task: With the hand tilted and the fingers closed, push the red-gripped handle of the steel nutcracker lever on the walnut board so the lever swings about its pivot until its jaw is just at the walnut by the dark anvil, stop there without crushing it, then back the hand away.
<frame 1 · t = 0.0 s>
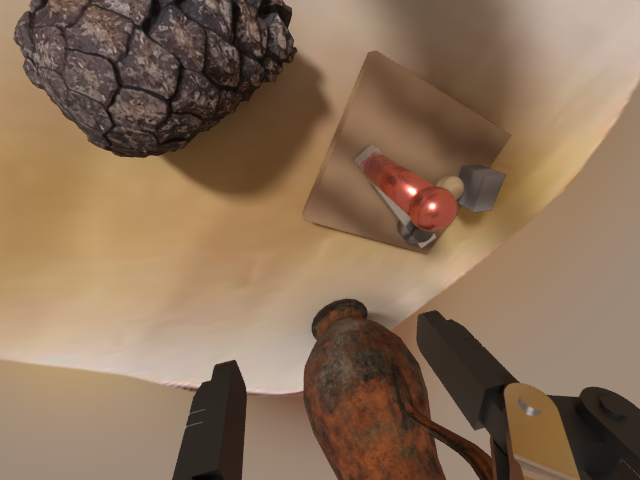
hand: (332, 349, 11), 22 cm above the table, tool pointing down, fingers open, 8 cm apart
pine cone: (188, 57, 22), on the table
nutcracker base: (403, 214, 36), on the table
lever: (426, 226, 26), point 9 cm above the table, hinge at 0.0°
pitcher: (343, 311, 44), on the table
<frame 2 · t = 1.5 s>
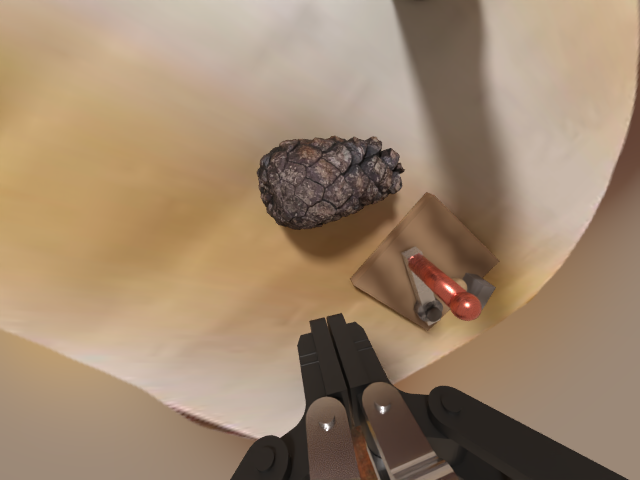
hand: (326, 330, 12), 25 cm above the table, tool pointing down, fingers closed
pine cone: (325, 169, 34), on the table
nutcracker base: (417, 296, 47), on the table
lever: (445, 312, 36), point 9 cm above the table, hinge at 0.0°
pitcher: (348, 366, 51), on the table
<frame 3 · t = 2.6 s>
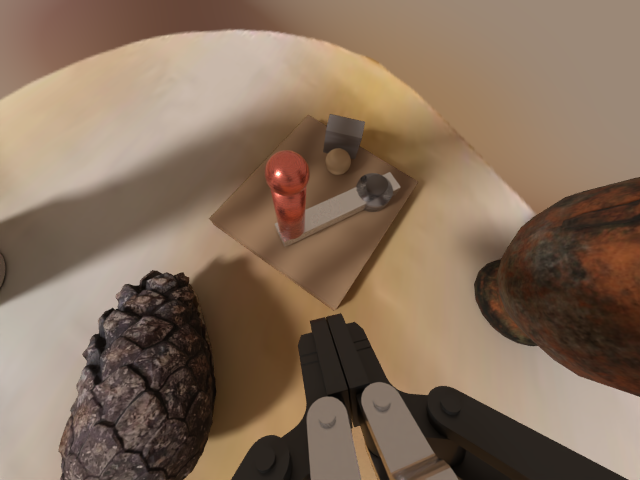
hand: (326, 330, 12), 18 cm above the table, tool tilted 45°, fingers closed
pine cone: (170, 364, 27), on the table
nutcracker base: (366, 204, 34), on the table
lever: (348, 181, 24), point 9 cm above the table, hinge at 0.0°
pitcher: (499, 291, 32), on the table
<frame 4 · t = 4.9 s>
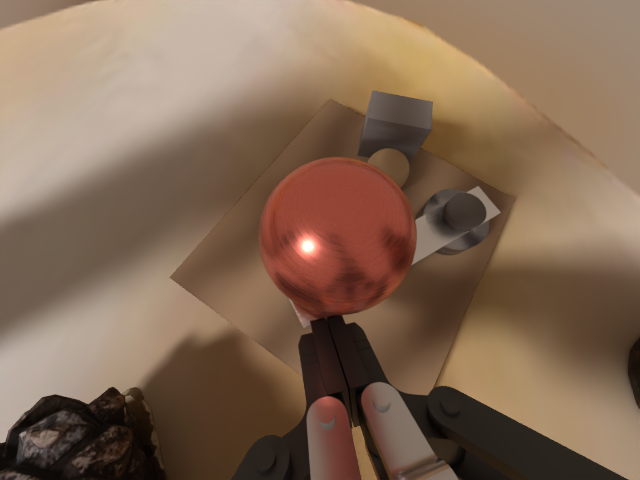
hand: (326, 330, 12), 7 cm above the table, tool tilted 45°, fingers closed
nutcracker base: (428, 238, 21), on the table
lever: (439, 216, 12), point 9 cm above the table, hinge at 0.2°, touching gripper
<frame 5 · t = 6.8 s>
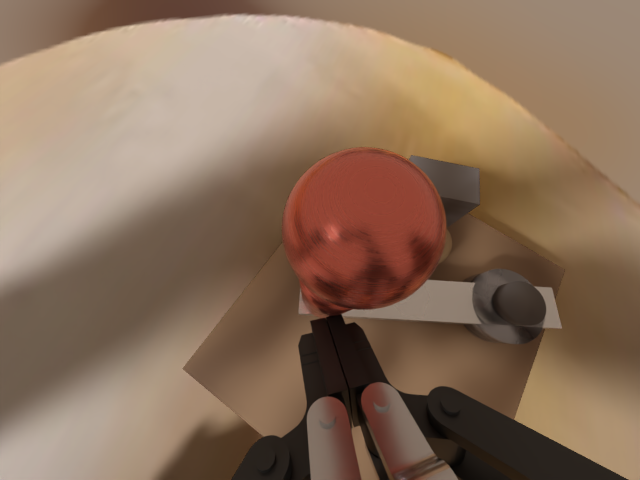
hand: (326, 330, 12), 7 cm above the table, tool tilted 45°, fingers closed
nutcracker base: (466, 309, 19), on the table
lever: (485, 286, 10), point 9 cm above the table, hinge at 31.6°, touching gripper
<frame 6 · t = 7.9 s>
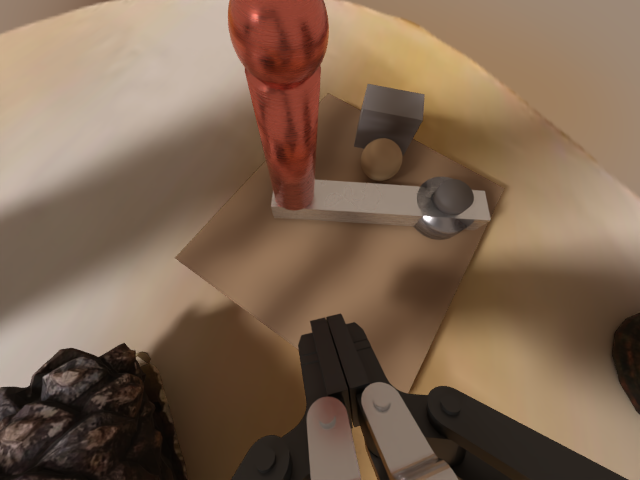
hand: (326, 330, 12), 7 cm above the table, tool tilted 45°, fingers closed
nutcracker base: (422, 225, 22), on the table
lever: (407, 151, 13), point 9 cm above the table, hinge at 31.6°
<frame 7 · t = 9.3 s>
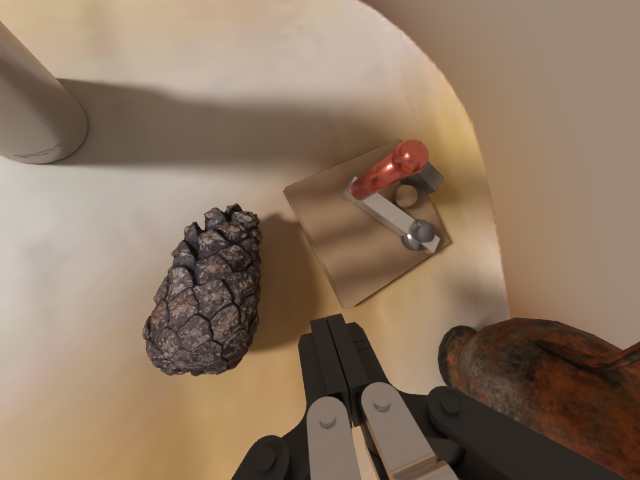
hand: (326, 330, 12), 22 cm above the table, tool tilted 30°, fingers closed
pine cone: (215, 281, 31), on the table
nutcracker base: (403, 237, 40), on the table
lever: (420, 207, 30), point 9 cm above the table, hinge at 31.6°
pitcher: (456, 348, 41), on the table
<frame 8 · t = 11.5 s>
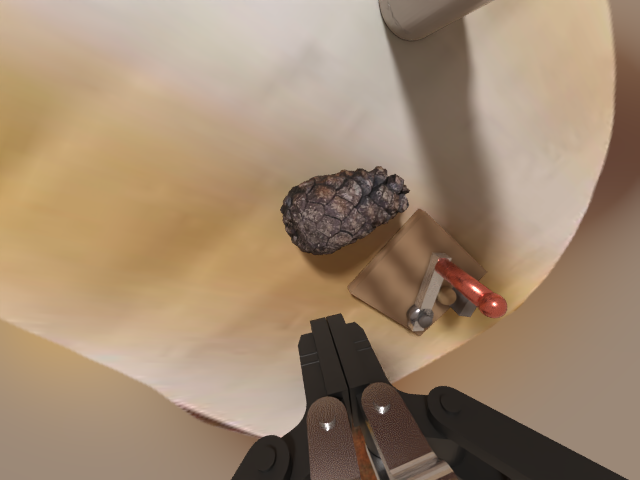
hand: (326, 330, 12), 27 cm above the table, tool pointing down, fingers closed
pine cone: (337, 195, 38), on the table
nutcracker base: (410, 303, 50), on the table
lever: (449, 315, 40), point 9 cm above the table, hinge at 31.6°
pitcher: (344, 368, 54), on the table
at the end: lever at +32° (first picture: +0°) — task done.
